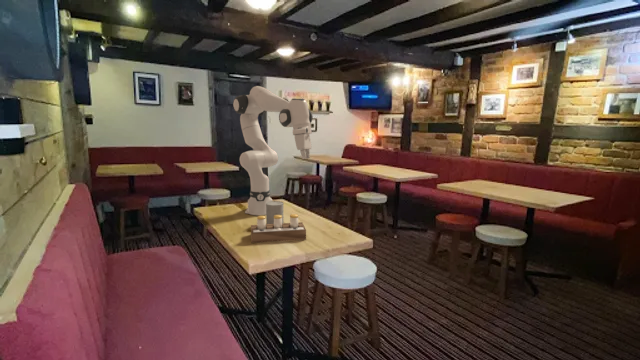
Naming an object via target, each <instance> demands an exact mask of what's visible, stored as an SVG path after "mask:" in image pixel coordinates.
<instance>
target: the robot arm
mask: <svg viewBox="0 0 640 360" xmlns="http://www.w3.org/2000/svg"><path fill="white" fill-rule="evenodd" d="M232 107H233V110H234V112H235V113H236V114H239V115H240V116H239V121H240V122H239V123H240V128H241V132H242V135H243V139H244V142H245V144H246V145H247V146H249V147H250V148H252V150H247V151H244V152H242V153H241V154H240V156H239V163H240V165H241V167H242V168H244V170H245V171H246V172H247V173H248V176H249V179H250V191H249V195H250V196H249V199H247V208H246V210H244V214H249V215H251V216H266V203H267V202H270V201H273V199H272V197H271V190H270V179H269V176H267V174H265V173H264V172H263V168H271V167H272V166H275V165H277V163H278V162H279V156H278V153H277V151H275V150H274V149H272V148H271V147H270V146H269V145H268V143H267V142H266V141H265V139H264V135H263V132H262V130H261V127H260V123H259V119H258V117H259V116H260V117H263V116H264V114H265V113H267V112H268V113H273V112H274V113H278V120H279V123H280V125H281V126H283V127H284V128H292V136H294V143H295V146H296V149H297V151H300V155H301V159H302V160H307V159H310V157H311V156H310V152H311V151H310V150H312V142H311V136H310V135H311V134H312V125H311V123H313V113H312V111H311V110H310V109H309V106H308V102H307V100H306V99H304V98H292V99H291V100H290V101H289V100H287V99H285V98H283V97H281V96H279V95H277V94H276V93H274V92H272V91H270V90H269V89H268V88H266V87H263V86H260V85H255V86H253V87H252V88H251V89H250V91H249V94H241V95H238V96H235V98H234V99H233V102H232Z"/></svg>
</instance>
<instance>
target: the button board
mask: <svg viewBox="0 0 640 360" xmlns="http://www.w3.org/2000/svg"><path fill="white" fill-rule="evenodd" d="M298 227H303V228H304V230H290V231H272V232H254V233H253V230H257V224H250V230H251V231H250V232H251V233H250V236H251V239H250V240H251V241H250V243H251V244H257V243H272V242H273V243H274V242H287V241H289V242H292V241H304V240H307V228H306V227H305V225H304V223H303V222H298ZM282 228H290V222H287V223H285V222H283V223H282ZM266 229H274V224H266Z"/></svg>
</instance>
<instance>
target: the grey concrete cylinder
mask: <svg viewBox="0 0 640 360" xmlns="http://www.w3.org/2000/svg"><path fill="white" fill-rule="evenodd" d="M274 215H282V223H284V202H283V201H280V200H272V201H270V202H267V203H266V215H265V216H266V224H274Z"/></svg>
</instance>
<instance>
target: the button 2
mask: <svg viewBox="0 0 640 360" xmlns="http://www.w3.org/2000/svg"><path fill="white" fill-rule="evenodd" d="M289 223H290V228H298V223H299V214H296V213H292V214H290V215H289Z"/></svg>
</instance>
